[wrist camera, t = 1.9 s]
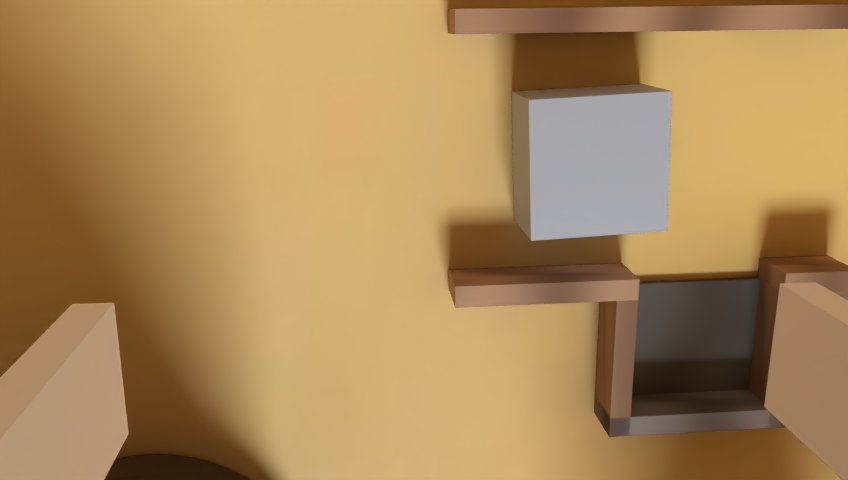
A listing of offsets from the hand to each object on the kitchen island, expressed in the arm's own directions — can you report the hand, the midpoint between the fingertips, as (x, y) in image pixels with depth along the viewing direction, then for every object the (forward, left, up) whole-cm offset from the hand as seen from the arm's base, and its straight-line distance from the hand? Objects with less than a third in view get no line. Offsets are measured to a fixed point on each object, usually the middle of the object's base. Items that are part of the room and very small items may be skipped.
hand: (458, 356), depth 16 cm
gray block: (+8, 0, -22) cm, 23 cm away
